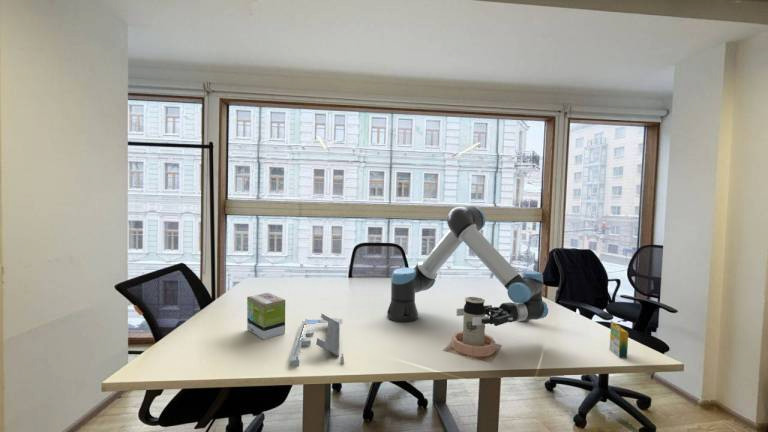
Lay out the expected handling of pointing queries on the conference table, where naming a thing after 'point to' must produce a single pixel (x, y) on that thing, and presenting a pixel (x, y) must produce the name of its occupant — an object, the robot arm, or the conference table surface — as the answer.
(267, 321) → the tea box
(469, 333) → the travel mug
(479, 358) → the cork mat
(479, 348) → the bowl
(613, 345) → the crayon box
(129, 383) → the conference table surface
